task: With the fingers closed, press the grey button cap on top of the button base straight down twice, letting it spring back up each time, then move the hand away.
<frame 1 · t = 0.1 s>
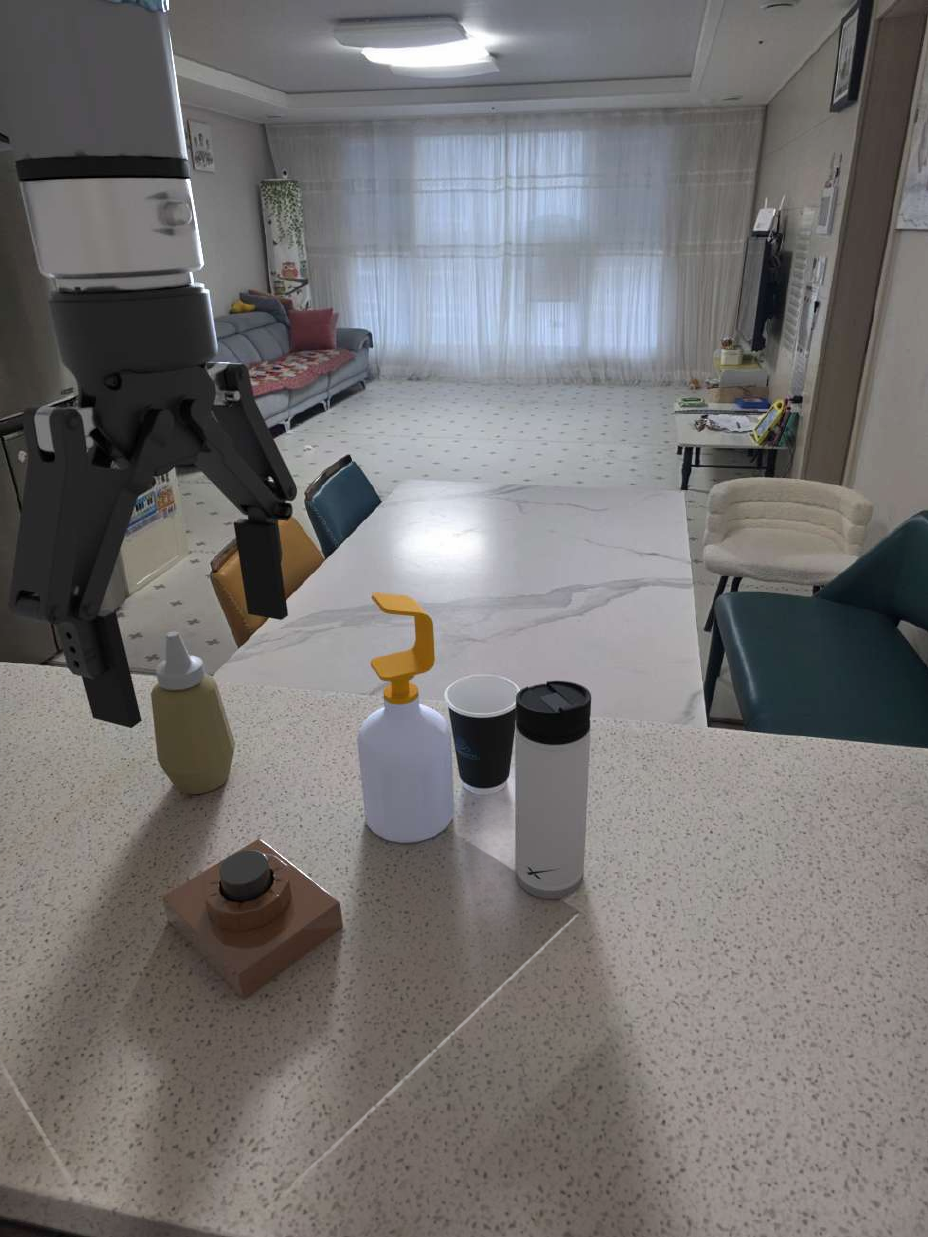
hand: (201, 661, 50), 31 cm above the table, tool pointing down, fingers open, 13 cm apart
button base: (254, 924, 72), on the table
dixie cup: (484, 782, 89), on the table
soap bottle: (409, 816, 84), on the table
squeeze bottle: (203, 780, 91), on the table
grey button cap: (245, 875, 69), point 6 cm above the table, slide at 0.1 cm
travel mug: (550, 878, 76), on the table
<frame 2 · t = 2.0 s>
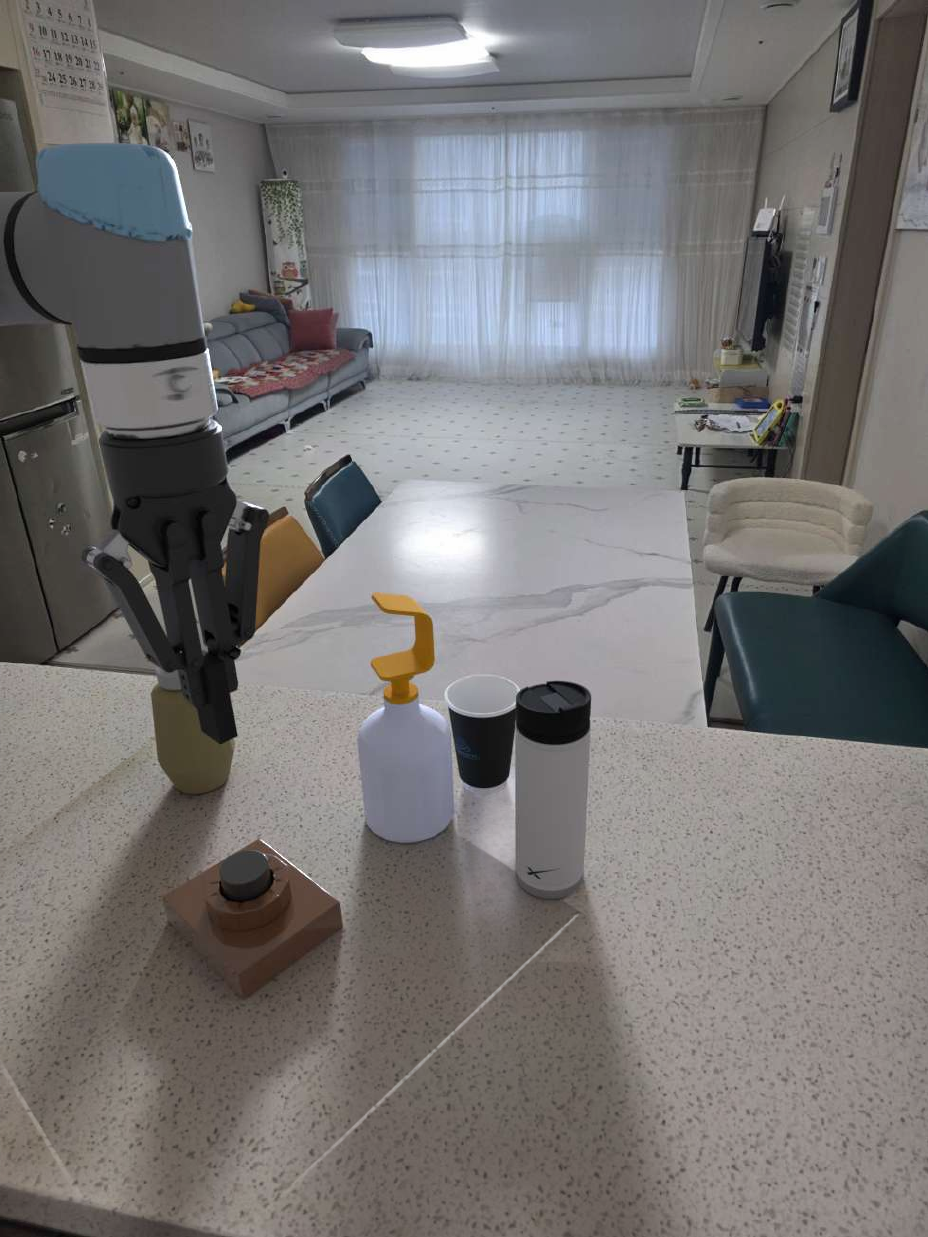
hand: (219, 733, 63), 20 cm above the table, tool pointing down, fingers closed
nothing on the table moved.
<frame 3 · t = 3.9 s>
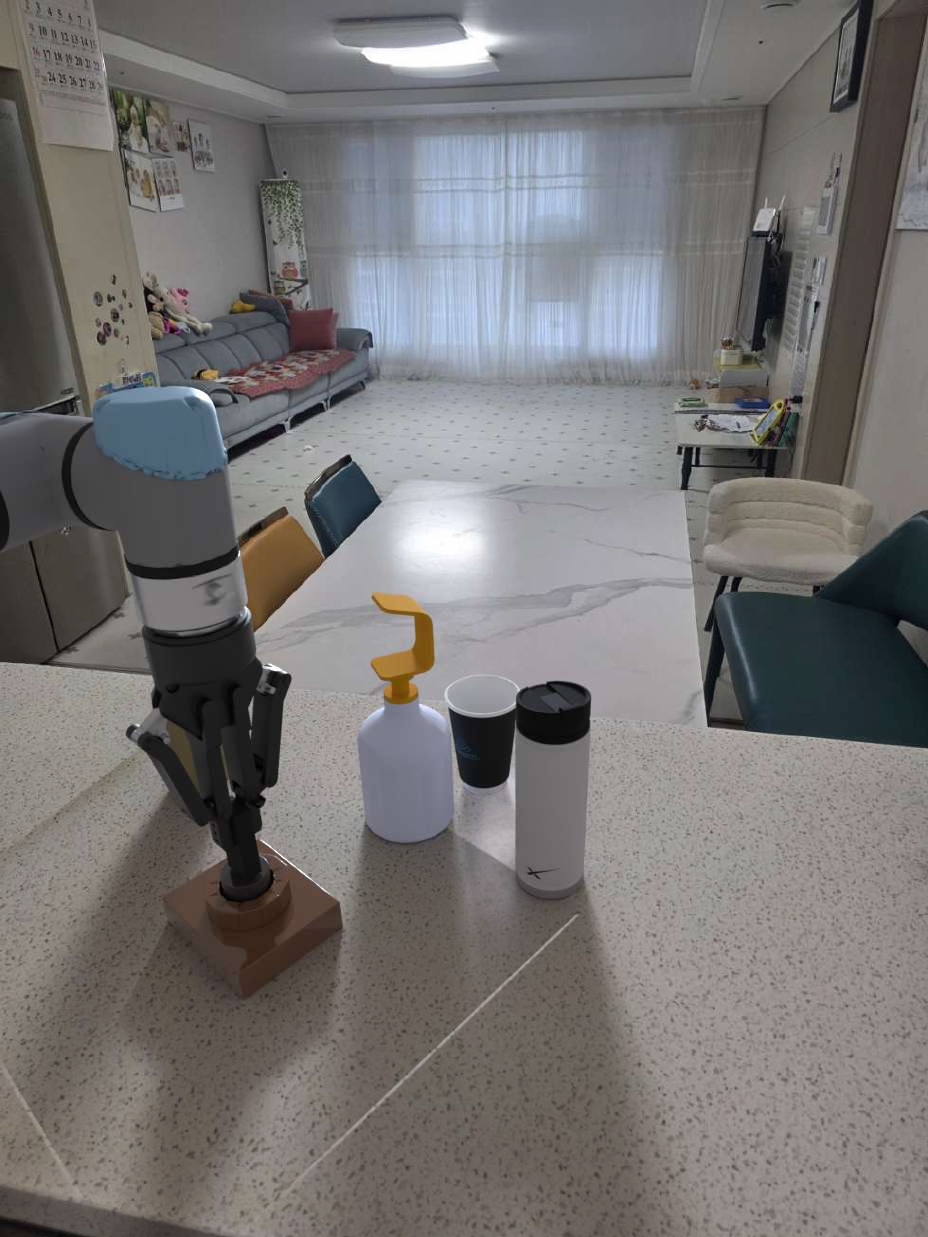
hand: (245, 868, 69), 7 cm above the table, tool pointing down, fingers closed
grey button cap: (246, 879, 69), point 5 cm above the table, slide at -0.3 cm, touching gripper
everything else where it was.
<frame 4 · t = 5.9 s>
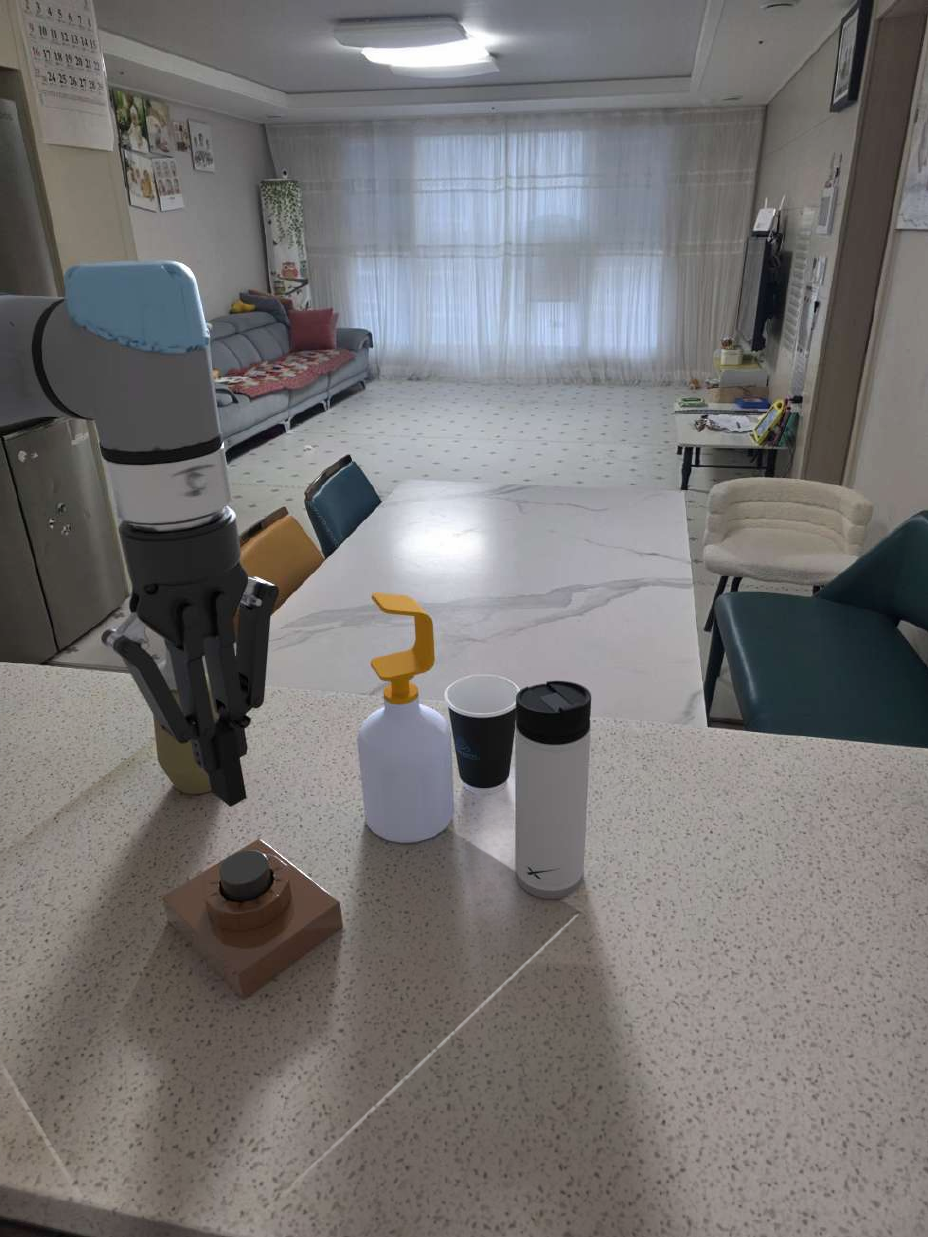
hand: (229, 795, 65), 14 cm above the table, tool pointing down, fingers closed
grey button cap: (245, 875, 69), point 6 cm above the table, slide at 0.1 cm
everything else where it was.
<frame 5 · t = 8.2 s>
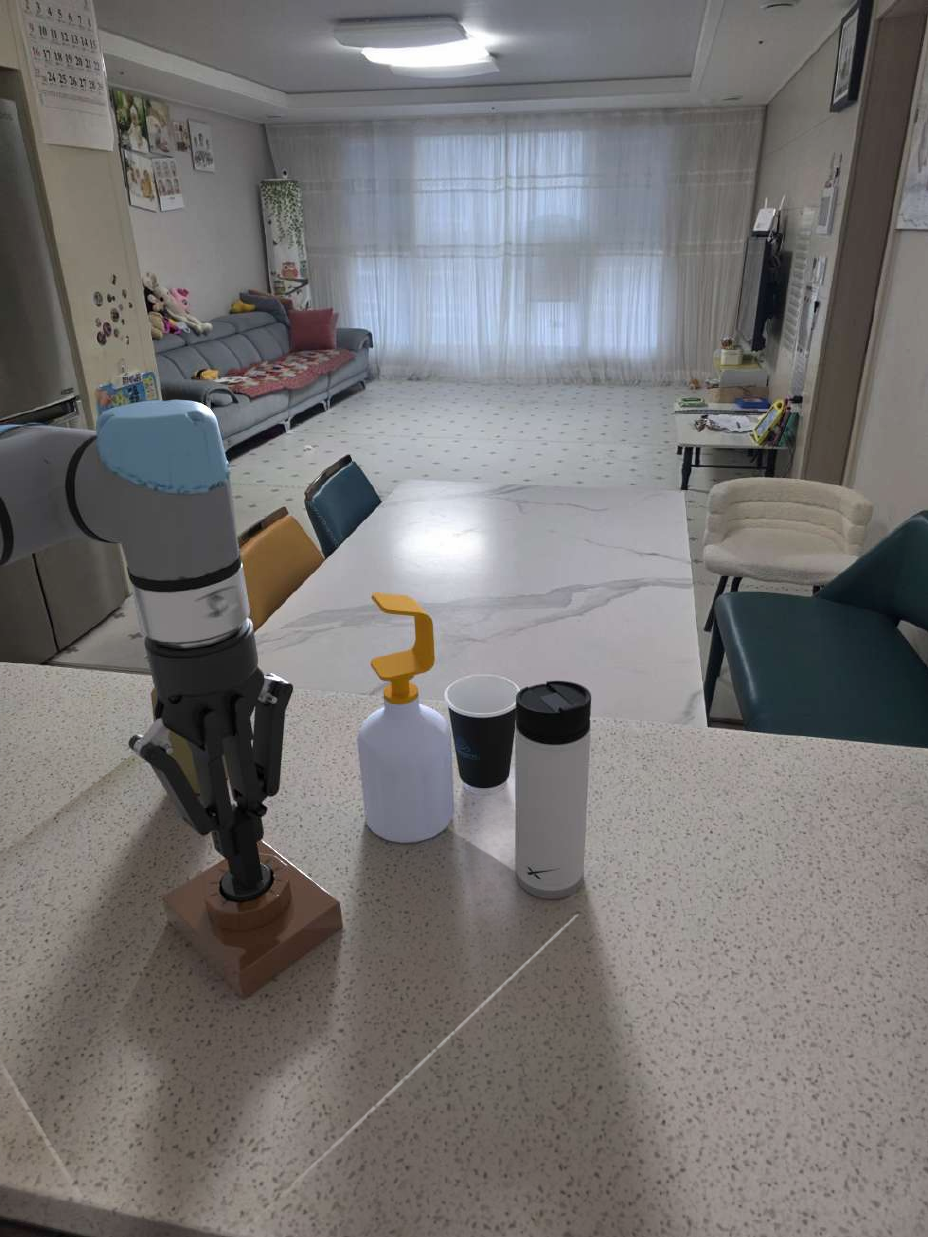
hand: (246, 876, 69), 6 cm above the table, tool pointing down, fingers closed
grey button cap: (247, 887, 70), point 4 cm above the table, slide at -1.2 cm, touching gripper
everything else where it was.
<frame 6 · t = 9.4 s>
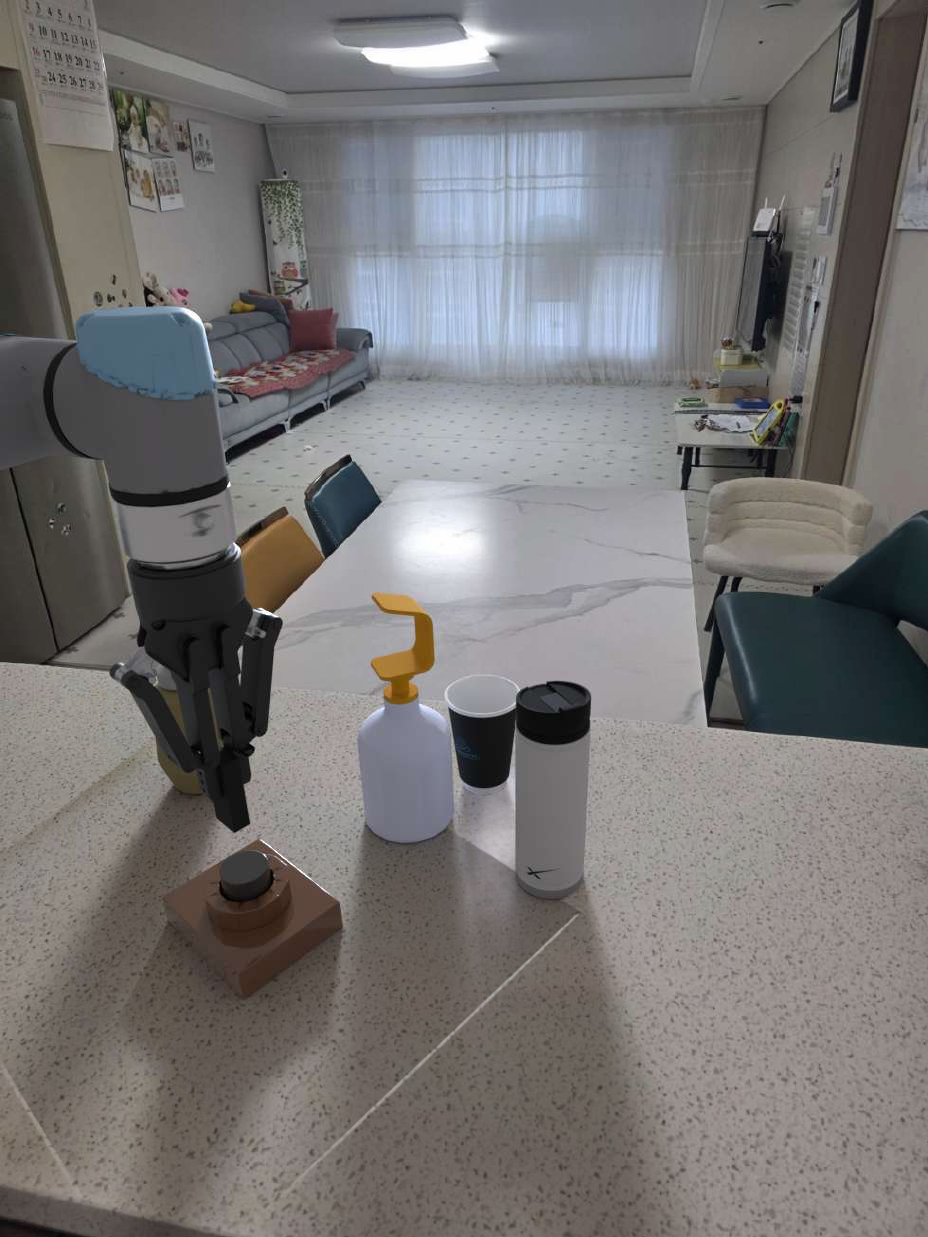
hand: (233, 820, 67), 11 cm above the table, tool pointing down, fingers closed
grey button cap: (245, 875, 69), point 6 cm above the table, slide at 0.1 cm
everything else where it was.
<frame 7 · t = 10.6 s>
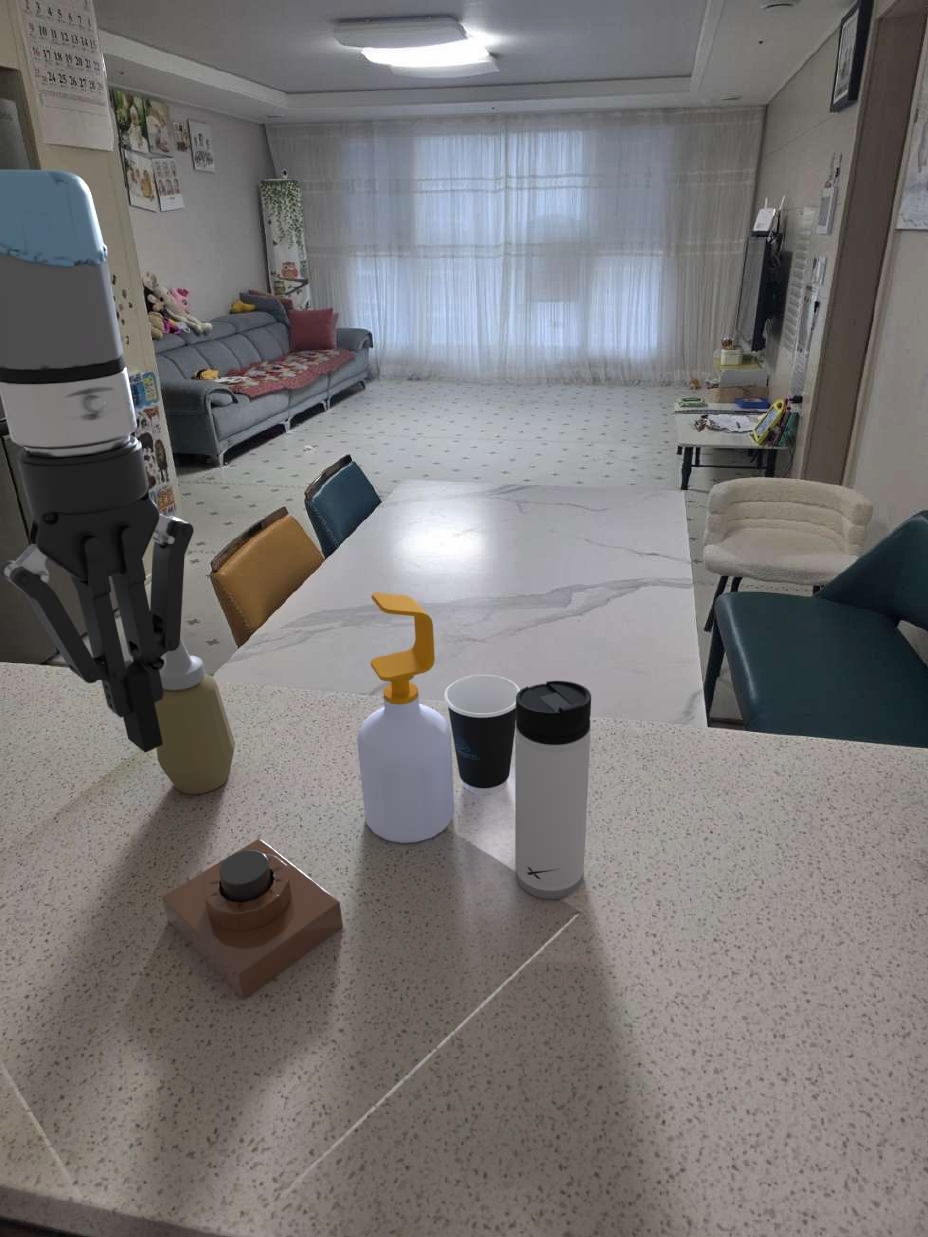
hand: (145, 741, 64), 19 cm above the table, tool pointing down, fingers closed
nothing on the table moved.
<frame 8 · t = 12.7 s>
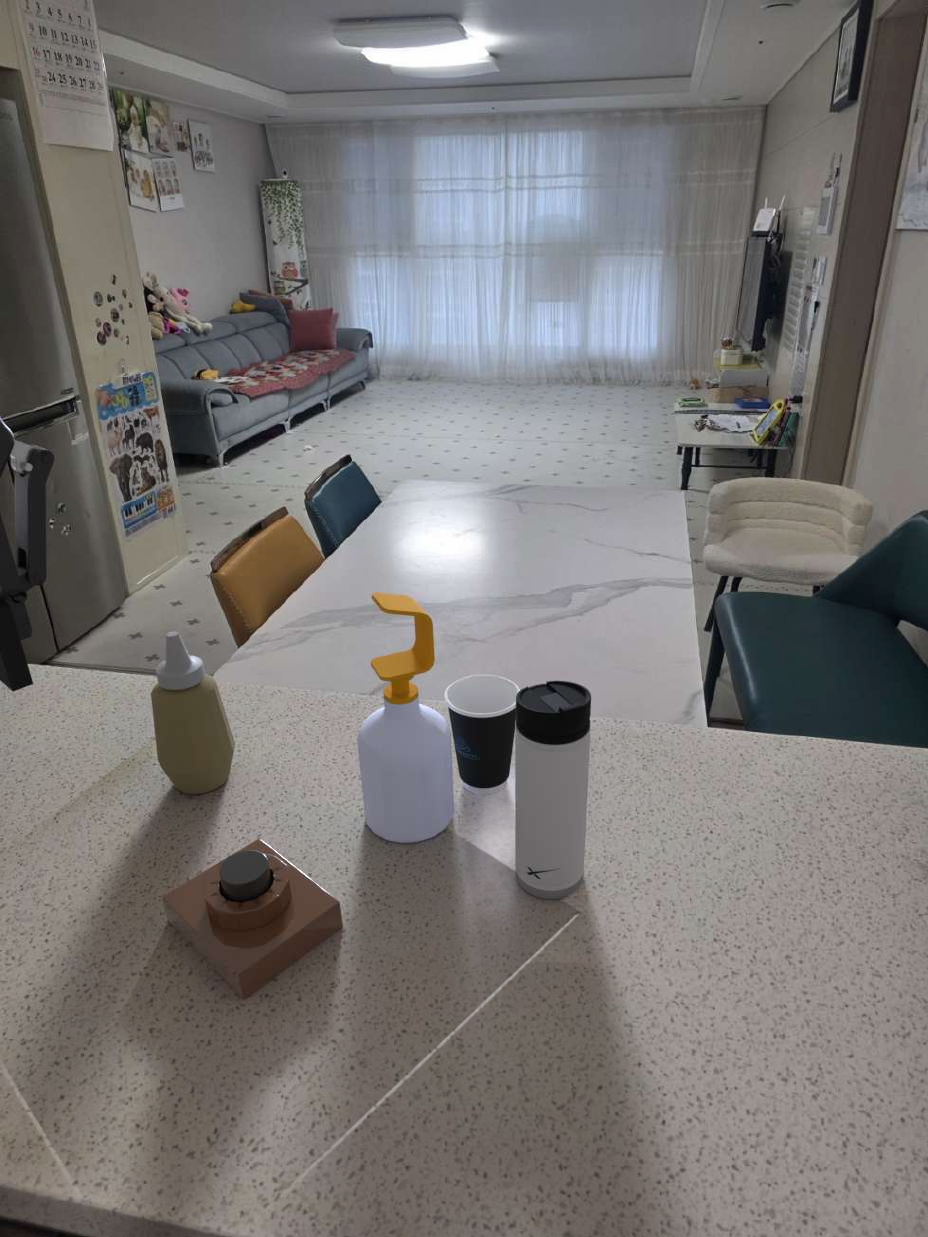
hand: (16, 681, 62), 24 cm above the table, tool pointing down, fingers closed
nothing on the table moved.
at the end: grey button cap pushed in 1.2 cm at the most during the clip, back to where it started at the end; grey button cap slide at 0.1 cm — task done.
